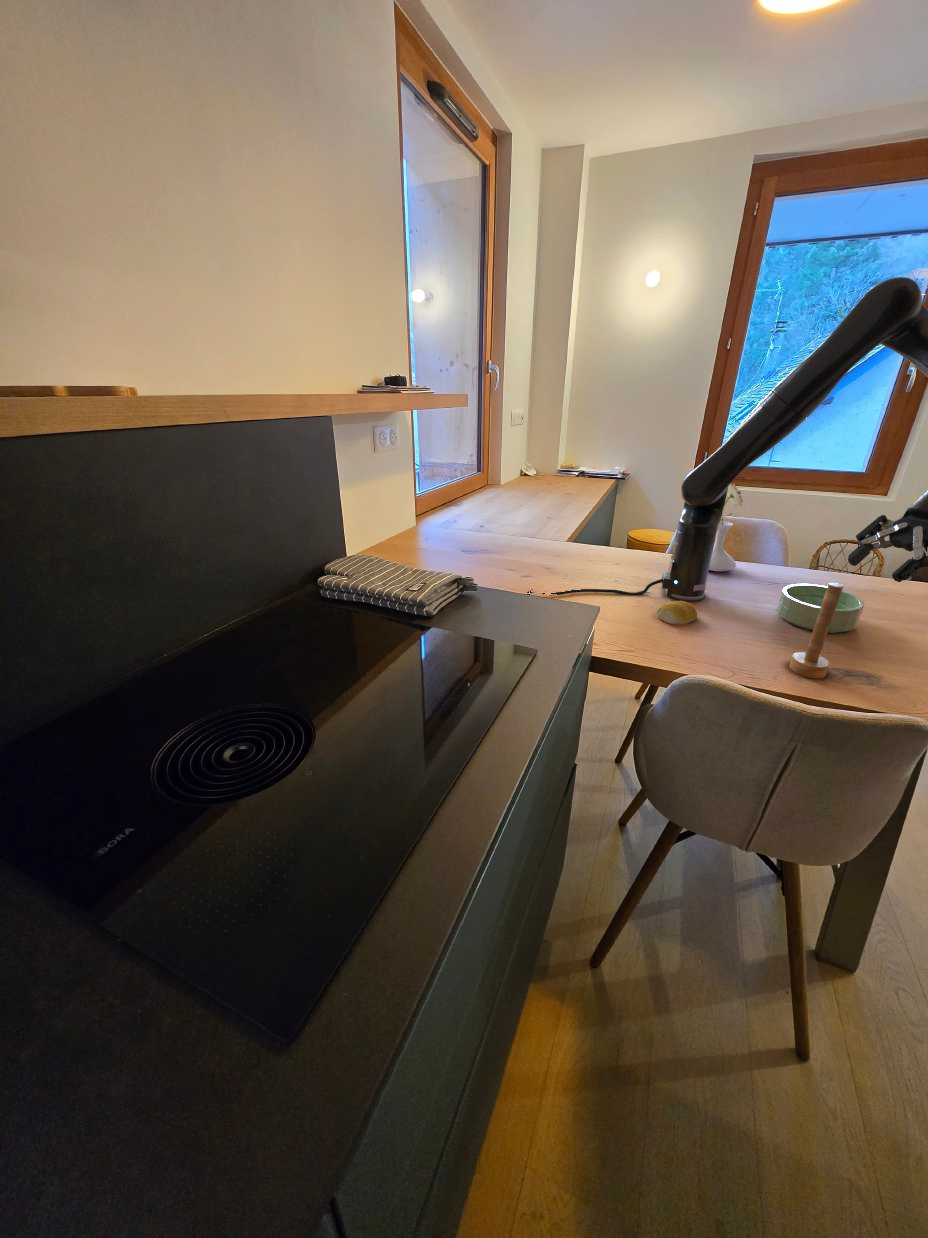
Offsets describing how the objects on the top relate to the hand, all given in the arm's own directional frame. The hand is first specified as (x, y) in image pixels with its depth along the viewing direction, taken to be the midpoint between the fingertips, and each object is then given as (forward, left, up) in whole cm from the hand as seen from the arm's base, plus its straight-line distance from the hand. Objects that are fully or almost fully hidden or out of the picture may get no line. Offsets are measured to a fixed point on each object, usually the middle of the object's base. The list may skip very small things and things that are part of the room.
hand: (872, 570), depth 89 cm
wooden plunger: (-6, -4, -20) cm, 21 cm away
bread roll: (-29, +14, -20) cm, 38 cm away
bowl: (+2, +22, -20) cm, 30 cm away
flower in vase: (-16, +55, -20) cm, 61 cm away
